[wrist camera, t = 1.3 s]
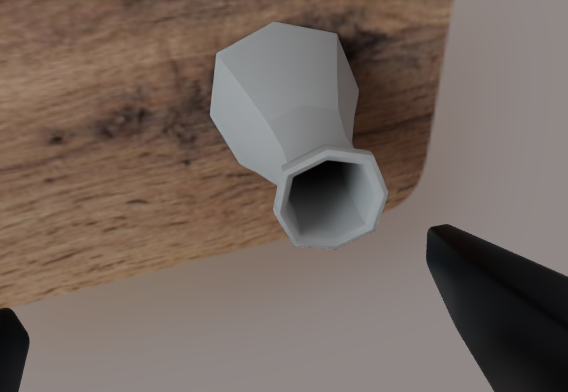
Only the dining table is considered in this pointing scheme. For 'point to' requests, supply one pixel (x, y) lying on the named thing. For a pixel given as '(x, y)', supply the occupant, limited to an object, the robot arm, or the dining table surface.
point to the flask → (299, 132)
